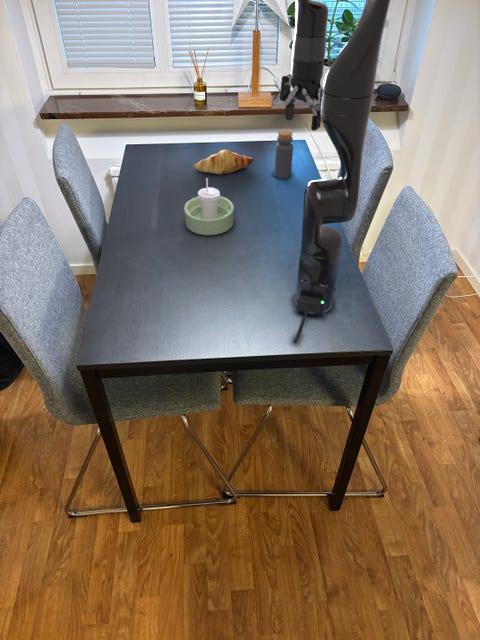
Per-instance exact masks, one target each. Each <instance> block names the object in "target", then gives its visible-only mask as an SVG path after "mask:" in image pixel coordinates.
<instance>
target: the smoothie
mask: <svg viewBox="0 0 480 640" xmlns="http://www.w3.org/2000/svg"><path fill="white" fill-rule="evenodd" d="M220 196H221V193H220V190H219V189H218V188H215V187H209V177H205V187H203V188H201V189H199V190H198V192H197V197H199V198H200V203H201V209H202V214H203V219H216V218H217V209H218V200H219V197H220Z"/></svg>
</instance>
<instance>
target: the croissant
mask: <svg viewBox="0 0 480 640" xmlns="http://www.w3.org/2000/svg"><path fill="white" fill-rule="evenodd" d="M253 162H254V158H253V157H252V156H247V155H243V154H242V155H240V154H239V153H238V152H232V151H231V150H229V149H221V150H219V151H218V152H217V153H214V154H211V155H209V157H207V158H204V159H201V160H199V162H197V163H194V164H193V169H194V170H196V171H198V172H202V173H207V174H215V175H223V174H231V173H234V172H236V171H240V170H243V169H245V168H247V167H248V166H249V165H251V164H252V163H253Z"/></svg>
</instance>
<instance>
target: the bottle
mask: <svg viewBox="0 0 480 640" xmlns="http://www.w3.org/2000/svg"><path fill="white" fill-rule="evenodd" d="M277 134H278V135H277V138H276V139H277V140H276V141H277V142H276V144H275V152H274V169H273V171H274V172H273V175H274V176H275V177H276V178H278V179H288V178H291V175H292V167H293V155H294V154H293V153H294V145H293V143H292V142H293V139H294V138H293V131H292V130H291V129H280V130H278V132H277Z"/></svg>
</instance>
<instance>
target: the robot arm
mask: <svg viewBox="0 0 480 640" xmlns="http://www.w3.org/2000/svg"><path fill="white" fill-rule="evenodd" d="M390 5H391V0H365V3H364V7H363V10H362V12H361V15H360V19H359V21H358V23H357V25H356V27H355V29H354V31H353V33H352V34H351V36H350V37H349V39H348V41H347V42H346V43H345V45H344V46H343V48H342V49H341V50H340V51H339V53H338V54H337V56H336V57H335V59H334V60H333V62H332V63H331V65H330V66H329V68H328V70H327V72H326V74H325V77H324V79H323V83H322V84H323V85H322V84H321V80H322V78H323V74H324V65H325V57H326V48H327V38H326V37H327V31H328V29H327V28H328V19H329V7H328V6H327V4H325V3H323V2H320V1H317V0H295V26H294V27H295V28H294V37H293V43H292V51H291V52H292V54H291V67H290V73H289V74H286V75H283V76H281V83H280V92H279V100H280V101H281V102H283V103H284V105H285V113H284V117H285V120H286V121H288V122H289V121H292V120H293V119H294V118H295V102H296V101H302V102H304V103H306V104H307V106H308V108H309V109H311V112H312V114H313V115H312V117H311V127H310V130H311V131H313V132H315V131H317V130H319V129H320V128H321V124H322V126H323V128H324V129H325V132H326V134H327V135H328V138H329V139H330V142H331V143H332V145H333V147H334V149H335V151H336V153H337V156H338V158H339V162H340V172H339V177H338V178H327V179H315V180H310V181H309V182H308V183H307V184H306V186H305V189H304V194H303V204H302V205H303V207H302V225H301V243H300V253H299V261H298V270H297V280H296V281H297V282H296V289H295V296H294V304H295V307H296V310H297V312H298V313H302V314H303V315H302V319H301V321H300V324H299V327H298V330H297V332H296V335H295V337H294V338H293V343H295V344H296V343H297V342H298V340H299V338H300V336H301V333H302V330H303V328H304V325H305V322H306V320H307V317H308V315H310V316H316V317H321V318H322V317H323V316H324V314H327V313H328V312H330V311H331V310H332V308H333V303H334V296H335V293H336V292H337V288H336V284H337V278H338V273H339V266H340V262H341V256H342V250H343V243H344V239H343V235H342V233H341V232H339V230H338V229H336V228H334V227H332V226H329V224H340V223H347V222H350V221H352V220H353V218H354V217H355V215H356V213H357V209H358V205H359V198H360V197H359V196H360V185H361V176H362V175H361V172H362V162H363V153H364V146H365V142H366V135H367V130H368V125H369V119H370V114H371V110H372V105H373V104H372V103H373V98H374V92H375V84H376V78H377V77H376V76H377V69H378V63H379V55H380V50H381V44H382V39H383V34H384V30H385V25H386V21H387V16H388V13H389V8H390ZM291 89H292V90H291ZM327 224H328V225H327Z"/></svg>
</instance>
